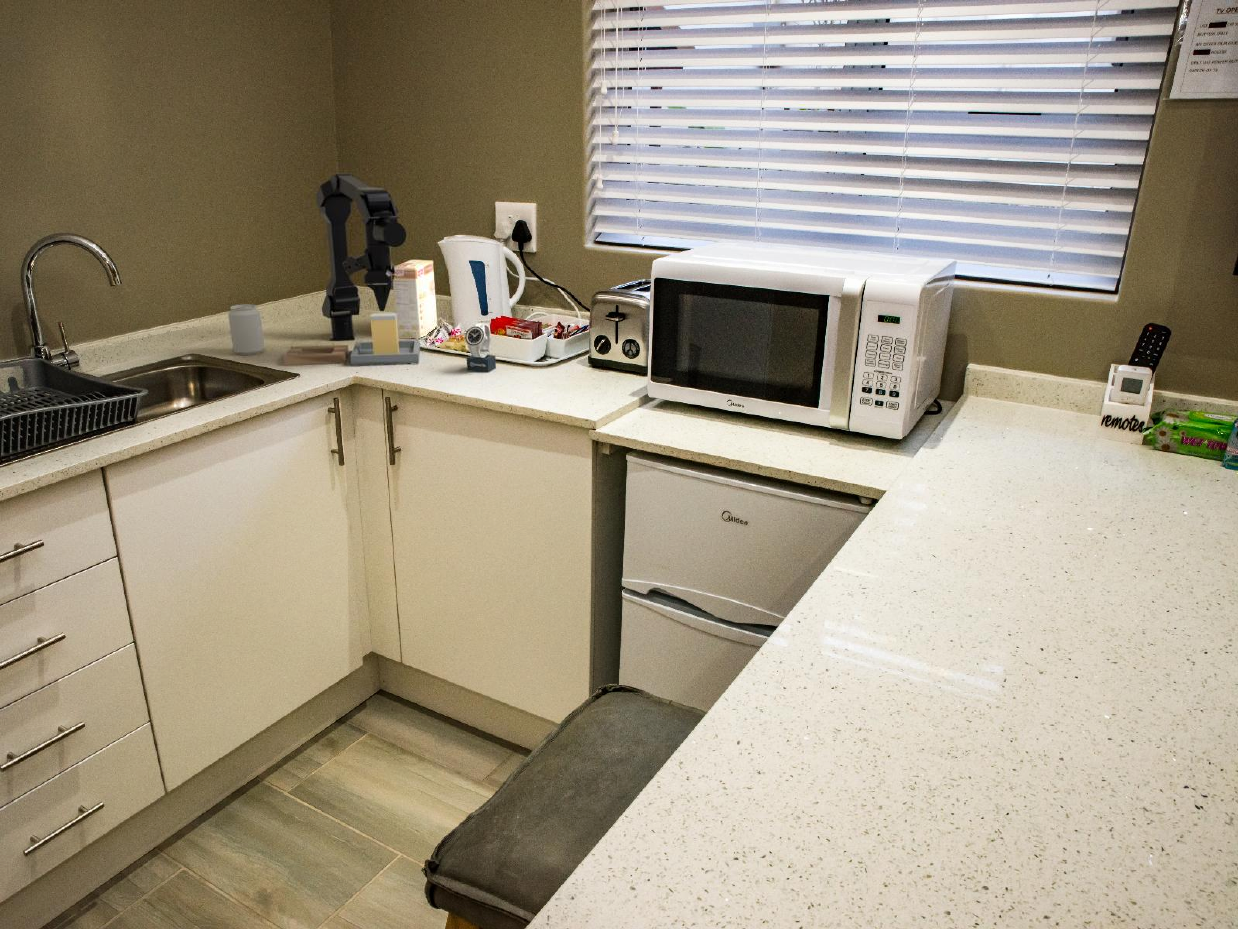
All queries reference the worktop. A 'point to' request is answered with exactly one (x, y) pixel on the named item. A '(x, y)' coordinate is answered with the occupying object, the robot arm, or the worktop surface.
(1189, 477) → the worktop surface
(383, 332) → the tan rectangular block
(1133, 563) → the worktop surface
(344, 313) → the robot arm
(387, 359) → the parts tray
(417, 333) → the coffeecake box
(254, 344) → the can
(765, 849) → the worktop surface
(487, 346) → the watch
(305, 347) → the brown wooden frame
